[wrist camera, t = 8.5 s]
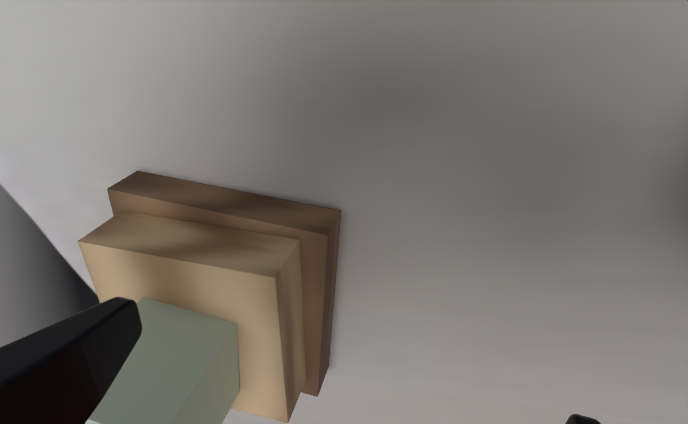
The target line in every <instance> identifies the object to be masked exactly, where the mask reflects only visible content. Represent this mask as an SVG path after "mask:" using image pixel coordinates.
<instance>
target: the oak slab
mask: <svg viewBox="0 0 688 424" xmlns="http://www.w3.org/2000/svg"><path fill="white" fill-rule="evenodd" d="M78 244H79V247H80V249H81V252H82V255H83V258H84V260H85V263H86V266H87V268H88V271H89V274H90V277H91V279H92V282H93V285H94V287H95V290H96V293H97V295H98V298H99V301H100V303H102V302H105V301H107V300H109V299H111V298H114V297H123V298H127V299H131V300H134V301H135V302H136V303H138V302H139V301H140V300H141V299H142V298H143V297H145V298H149V299H152V300H156V301H159V302H163V303H167V304H170V305H174V306H177V307H181V308H184V309H188V310H191V311H195V312H199V313H202V314H206V315H209V316H213V317H216V318H220V319H223V320H227V321H230V322H234V323H237V331H238V362H239V393H238V395H237V397H236V399H235V401H234V402H233V404H232V406H231V408H232V409H236V410H240V411H243V412H247V413H251V414H255V415H259V416H263V417H266V418H270V419H274V420H278V421H282V422H285V423H288V422H289V419H290V417H291V414H292V412H293V410H294V407H295V405H296V402H297V400H298V397H299V395H300V392H301V390H302V387H303V385H304V382H305V380H306V364H305V343H304V323H303V302H302V281H301V261H300V240H299V239H293V238H287V237H281V236H274V235H268V234H262V233H256V232H250V231H243V230H237V229H231V228H225V227H219V226H212V225H206V224H200V223H194V222H188V221H181V220H175V219H169V218H163V217H157V216H150V215H144V214H138V213H132V212H126V211H121V212H120V213H118V214H117V215H115V216H114V217H112V218H111V219H109V220H108V221H107V222H105V223H104V224H102V225H101V226H99V227H98V228H96V229H95V230H93V231H92V232H91V233H89V234H88V235H86V236H85V237H83V238H82V239H80V240H79V241H78Z"/></svg>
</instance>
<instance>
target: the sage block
mask: <svg viewBox="0 0 688 424" xmlns="http://www.w3.org/2000/svg"><path fill="white" fill-rule="evenodd" d="M137 306H138V310H139V314H140V318H141V322H142V333H141V336H140V338H139V340H138V341H137V343H136V345H135V346H134V348H133V350H132V351H131V353H130V355H129V356H128V358H127V360H126V361H125V363H124V365H123V366H122V368H121V370H120V371H119V373H118V375H117V376H116V378H115V380H114V381H113V383H112V385H111V386H110V388H109V390H108V391H107V393H106V394H105V396H104V397H103V399H102V400H101V402H100V403H99V405H98V406H97V408H96V409H95V410H94V412H93V413H92V415H91V416H90V417H89V419H88V420H87V421H86V423H85V424H222V422H223V420H224V419H225V417H226V415H227V413H228V411H229V410H230V408H231V406H232V404H233V402H234V401H235V399H236V397H237V395H238V393H239V362H238V331H237V323H234V322H230V321H227V320H223V319H220V318H216V317H213V316H209V315H206V314H202V313H199V312H195V311H191V310H188V309H184V308H181V307H177V306H174V305H170V304H167V303H163V302H159V301H156V300H152V299H149V298H145V297H143V298H142V299H141V300H140V301H139V302H138V303H137Z"/></svg>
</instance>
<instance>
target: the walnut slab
mask: <svg viewBox="0 0 688 424" xmlns="http://www.w3.org/2000/svg"><path fill="white" fill-rule="evenodd" d="M107 191H108V195H109V199H110V203H111V207H112V211H113V215H114V216H115V215H117V214H118V213H120V212H121V211H126V212H132V213H138V214H144V215H150V216H157V217H163V218H169V219H175V220H181V221H188V222H194V223H200V224H206V225H212V226H219V227H225V228H231V229H237V230H243V231H250V232H256V233H262V234H268V235H274V236H281V237H287V238H293V239H299V240H300V261H301V281H302V302H303V323H304V343H305V364H306V380H305V382H304V385H303V387H302V390H301V392H303V393H306V394H310V395H313V396H317V397H318V394H319V392H320V389H321V386H322V383H323V381H324V378H325V375H326V372H327V369H328V367H329V355H330V343H331V331H332V318H333V306H334V293H335V281H336V268H337V256H338V243H339V231H340V219H341V211H338V210H333V209H328V208H323V207H318V206H313V205H308V204H303V203H298V202H293V201H288V200H283V199H277V198H272V197H267V196H262V195H257V194H252V193H247V192H242V191H237V190H232V189H227V188H222V187H216V186H211V185H206V184H201V183H196V182H191V181H186V180H181V179H176V178H171V177H166V176H161V175H155V174H150V173H145V172H140V171H136V172H135V173H133V174H131V175H130V176H128V177H126V178H125V179H123V180H121V181H120V182H118V183H116V184H114V185H113V186H111V187H109V188H108V189H107Z"/></svg>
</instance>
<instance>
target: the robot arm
mask: <svg viewBox="0 0 688 424" xmlns="http://www.w3.org/2000/svg"><path fill="white" fill-rule="evenodd" d="M141 333H142V322H141V318H140V314H139V310H138V306H137V303H136V302H135V301H134V300H131V299H127V298H123V297H114V298H111V299H109V300H107V301H105V302H102V303H100V304H98V305H96V306H93V307H91V308H89V309H86V310H84V311H82V312H80V313H77V314H75V315H73V316H71V317H68V318H66V319H64V320H62V321H59V322H57V323H55V324H53V325H51V326H48V327H46V328H44V329H41V330H39V331H37V332H35V333H32V334H30V335H28V336H25V337H23V338H21V339H19V340H17V341H14V342H12V343H10V344H7V345H5V346H3V347H1V348H0V424H85V423H86V421H87V420H88V419H89V417H90V416H91V415H92V413H93V412H94V410H95V409H96V408H97V406H98V405H99V403H100V402H101V400H102V399H103V397H104V396H105V394H106V393H107V391H108V390H109V388H110V386H111V385H112V383H113V381H114V380H115V378H116V376H117V375H118V373H119V371H120V370H121V368H122V366H123V365H124V363H125V361H126V360H127V358H128V356H129V355H130V353H131V351H132V350H133V348H134V346H135V345H136V343H137V341H138V340H139V338H140V336H141ZM566 424H601V423H600V422H598V421H597V420H596V419H593V418H590V417H586V416H582V415H578V414H573V415H571V416H570V417H569V419H568V420H567V422H566Z"/></svg>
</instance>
